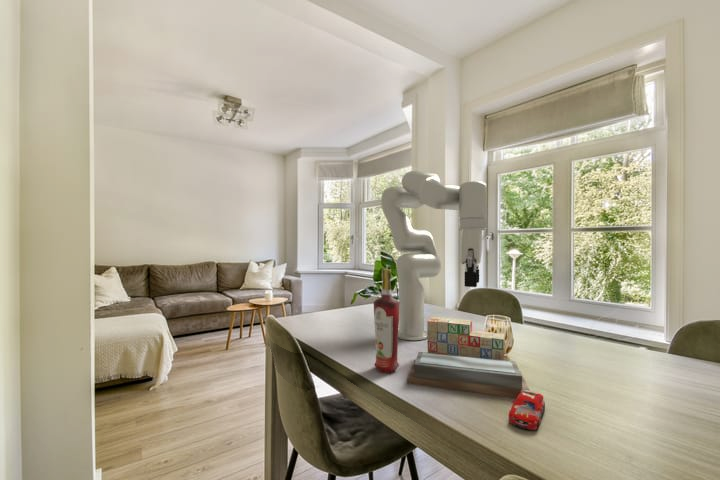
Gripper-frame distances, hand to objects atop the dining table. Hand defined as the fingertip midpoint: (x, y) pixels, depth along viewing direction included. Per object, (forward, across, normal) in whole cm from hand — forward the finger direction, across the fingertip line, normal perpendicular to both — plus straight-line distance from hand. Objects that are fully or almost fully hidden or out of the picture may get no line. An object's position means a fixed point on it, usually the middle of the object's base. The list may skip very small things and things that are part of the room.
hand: (472, 284), depth 93 cm
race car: (+24, +24, +13) cm, 36 cm away
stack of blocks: (+24, -2, -2) cm, 24 cm away
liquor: (+24, +12, -22) cm, 35 cm away
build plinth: (+23, +11, -1) cm, 26 cm away
